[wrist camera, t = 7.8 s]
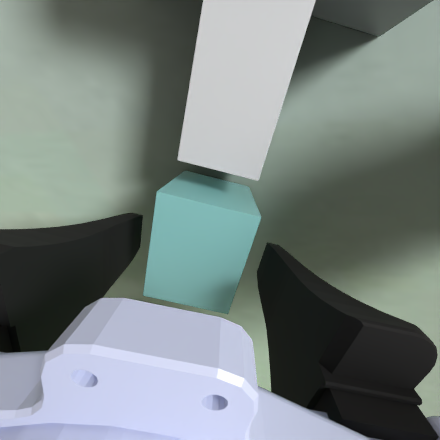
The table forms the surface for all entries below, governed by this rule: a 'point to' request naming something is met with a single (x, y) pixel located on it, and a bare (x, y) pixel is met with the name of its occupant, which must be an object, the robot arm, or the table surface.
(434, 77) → the table surface
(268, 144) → the plug
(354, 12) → the grey block
